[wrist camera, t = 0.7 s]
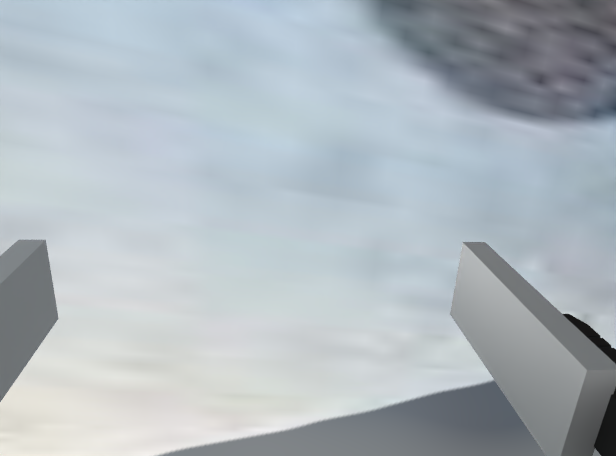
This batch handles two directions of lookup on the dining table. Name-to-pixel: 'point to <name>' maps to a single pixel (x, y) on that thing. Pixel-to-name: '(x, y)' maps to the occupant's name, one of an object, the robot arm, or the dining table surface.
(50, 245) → the dining table surface
